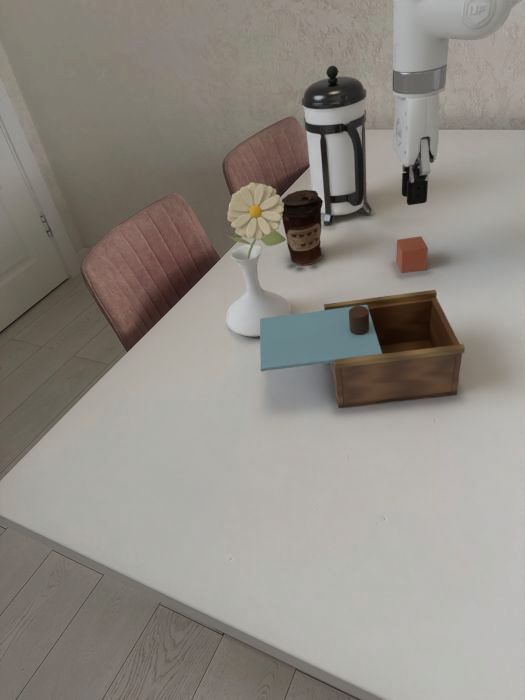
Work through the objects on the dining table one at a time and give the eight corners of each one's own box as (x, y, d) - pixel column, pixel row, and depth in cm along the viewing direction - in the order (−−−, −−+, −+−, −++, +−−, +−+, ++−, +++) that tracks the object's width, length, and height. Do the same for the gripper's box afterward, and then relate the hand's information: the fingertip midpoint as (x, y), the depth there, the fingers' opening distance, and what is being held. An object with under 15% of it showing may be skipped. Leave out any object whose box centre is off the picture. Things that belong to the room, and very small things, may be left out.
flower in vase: (217, 338, 85) (179, 199, 69) (243, 300, 93) (214, 167, 77) (288, 348, 80) (266, 200, 64) (309, 307, 88) (294, 166, 72)
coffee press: (293, 223, 114) (275, 78, 95) (327, 194, 123) (317, 57, 104) (362, 234, 105) (358, 77, 86) (394, 202, 114) (396, 54, 95)
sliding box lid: (367, 307, 72) (366, 286, 70) (382, 356, 63) (382, 335, 61) (260, 321, 73) (256, 301, 71) (261, 371, 65) (256, 351, 62)
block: (420, 257, 95) (421, 236, 92) (426, 269, 91) (427, 247, 88) (396, 260, 95) (396, 239, 92) (401, 273, 92) (402, 251, 89)
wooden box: (431, 337, 77) (435, 289, 71) (458, 397, 67) (465, 347, 61) (327, 350, 78) (323, 304, 73) (338, 411, 68) (335, 363, 63)
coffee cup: (332, 264, 98) (327, 201, 90) (291, 273, 97) (282, 211, 89) (321, 244, 104) (315, 184, 96) (282, 252, 104) (274, 193, 96)
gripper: (382, 73, 80) (382, 184, 91) (406, 98, 67) (402, 223, 79) (429, 64, 79) (423, 177, 91) (462, 88, 67) (450, 216, 78)
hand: (413, 198), depth 85 cm, fingers closed
